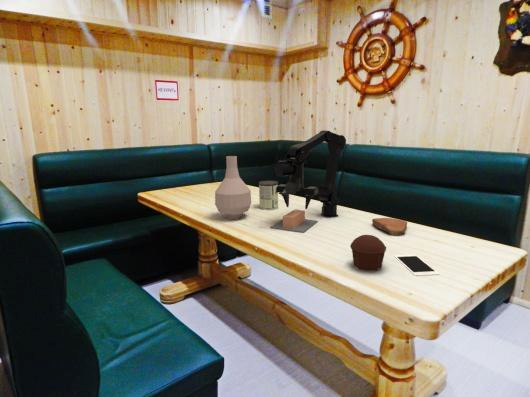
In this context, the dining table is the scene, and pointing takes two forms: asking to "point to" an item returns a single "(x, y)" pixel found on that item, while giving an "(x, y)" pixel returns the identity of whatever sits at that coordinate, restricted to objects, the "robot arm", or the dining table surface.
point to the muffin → (368, 252)
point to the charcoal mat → (299, 228)
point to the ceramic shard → (390, 225)
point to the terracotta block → (293, 218)
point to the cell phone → (416, 265)
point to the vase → (232, 192)
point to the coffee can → (268, 195)
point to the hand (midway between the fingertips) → (296, 208)
